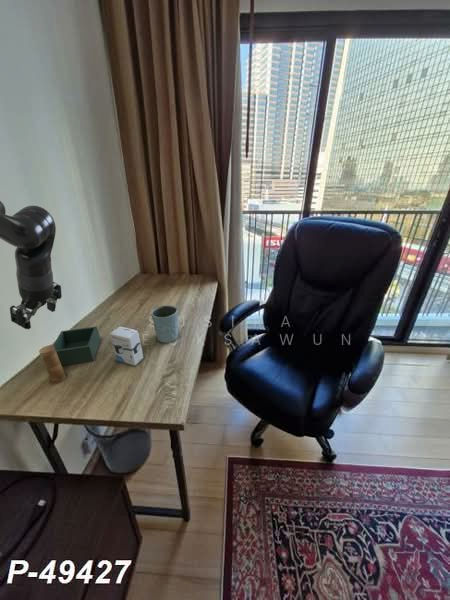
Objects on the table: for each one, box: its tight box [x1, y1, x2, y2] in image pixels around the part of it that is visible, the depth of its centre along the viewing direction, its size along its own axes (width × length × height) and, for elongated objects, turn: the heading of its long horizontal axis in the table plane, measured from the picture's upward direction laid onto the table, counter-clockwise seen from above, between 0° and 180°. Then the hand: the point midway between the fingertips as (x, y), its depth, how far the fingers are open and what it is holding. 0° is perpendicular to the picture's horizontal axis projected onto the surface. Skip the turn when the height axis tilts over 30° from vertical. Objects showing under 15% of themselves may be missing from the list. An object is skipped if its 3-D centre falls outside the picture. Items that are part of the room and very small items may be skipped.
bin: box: [52, 326, 101, 367], centre depth 93 cm, size 13×14×6 cm
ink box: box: [109, 326, 144, 367], centre depth 88 cm, size 8×5×12 cm, turn 68°
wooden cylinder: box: [38, 344, 67, 384], centre depth 80 cm, size 4×4×12 cm
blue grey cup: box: [150, 305, 179, 344], centre depth 101 cm, size 10×10×12 cm
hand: (39, 318), depth 76 cm, fingers open, 8 cm apart
